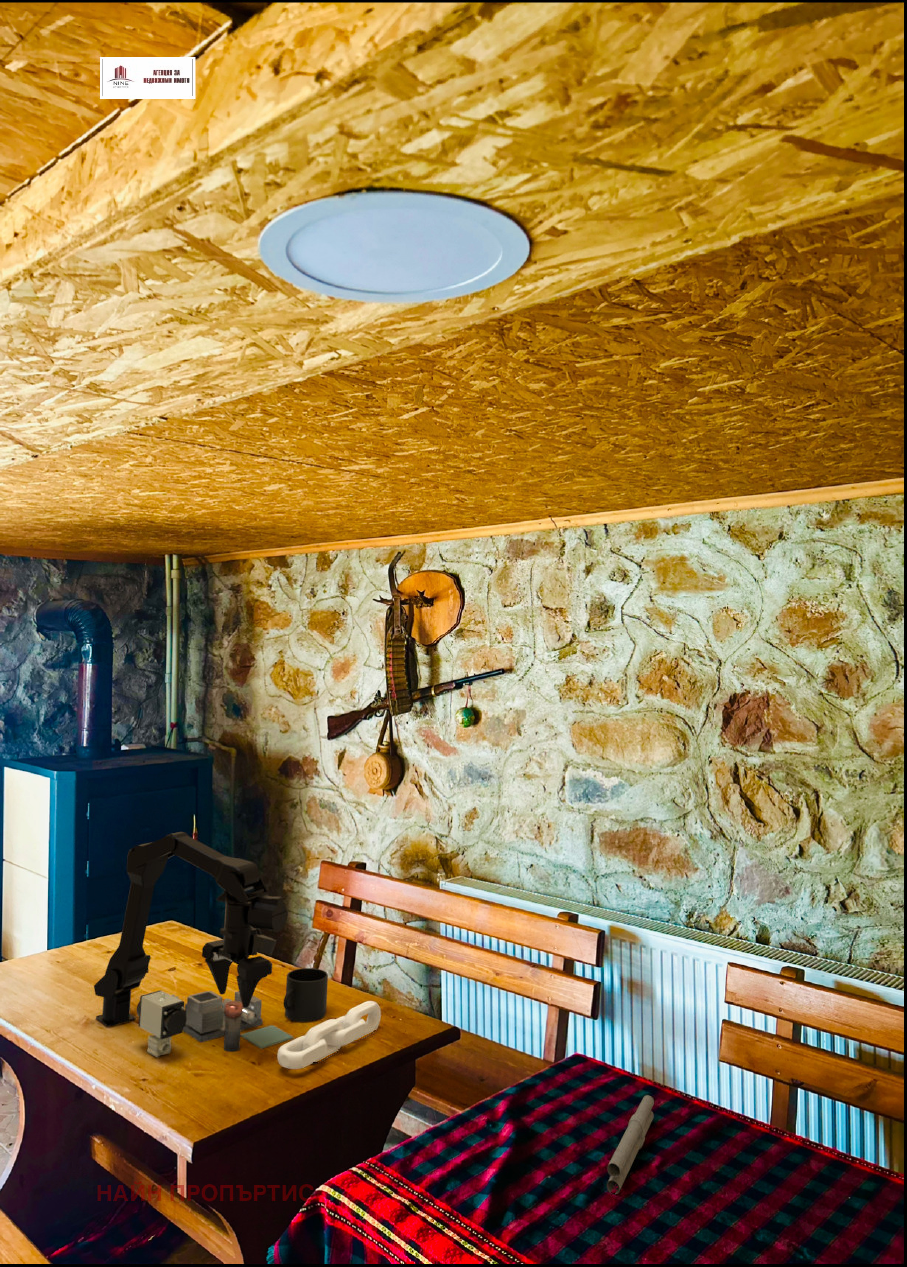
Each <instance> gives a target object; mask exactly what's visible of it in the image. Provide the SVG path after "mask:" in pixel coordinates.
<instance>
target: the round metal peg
mask: <svg viewBox="0 0 907 1267" xmlns="http://www.w3.org/2000/svg"><path fill="white" fill-rule="evenodd" d="M224 1012H225V1016H226V1020H225V1036H223V1037H224V1040H223V1050H224V1051H225V1052H228V1053H232V1052H236V1051H239V1050H240V1046H241V1034H242V1033H241V1032H242V1031H241V1015H242V1014H243V1005H242V1002H240V1001H235V1000H232V1001H231V1002H228V1003H226V1004H225V1010H224Z"/></svg>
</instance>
